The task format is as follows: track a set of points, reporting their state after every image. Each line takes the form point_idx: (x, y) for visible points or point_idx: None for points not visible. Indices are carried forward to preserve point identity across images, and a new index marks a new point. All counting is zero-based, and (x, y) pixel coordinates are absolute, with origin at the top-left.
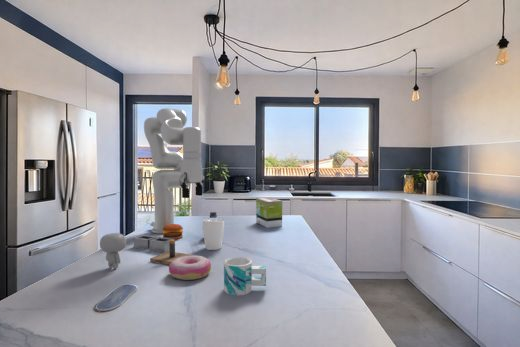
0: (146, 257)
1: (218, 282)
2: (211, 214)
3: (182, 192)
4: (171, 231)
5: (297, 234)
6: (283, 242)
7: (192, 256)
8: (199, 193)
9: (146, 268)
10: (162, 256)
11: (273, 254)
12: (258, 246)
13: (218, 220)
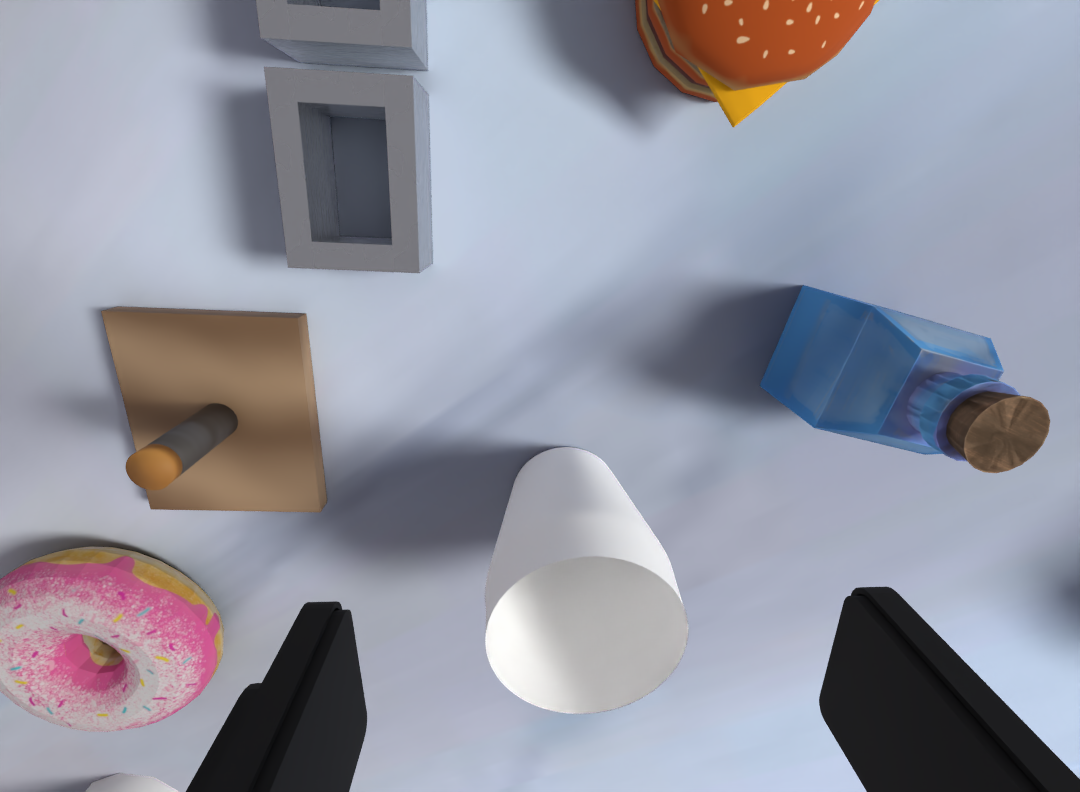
0: (157, 214)
1: (140, 738)
2: (956, 427)
3: (250, 720)
4: (668, 19)
5: None
6: (804, 746)
7: (128, 650)
8: (851, 711)
9: (23, 375)
10: (181, 359)
11: (577, 772)
12: (688, 679)
13: (682, 617)
